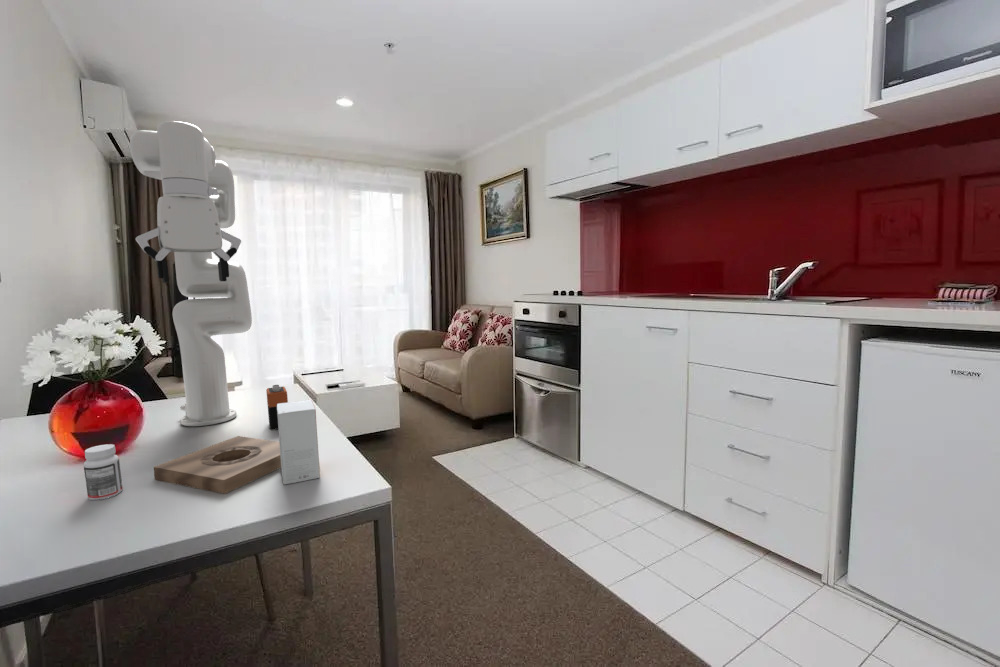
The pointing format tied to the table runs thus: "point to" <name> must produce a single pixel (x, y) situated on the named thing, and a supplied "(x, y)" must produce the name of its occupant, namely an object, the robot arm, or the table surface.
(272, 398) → the battery
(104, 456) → the pill bottle
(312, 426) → the small box
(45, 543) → the table surface
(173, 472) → the socket block
